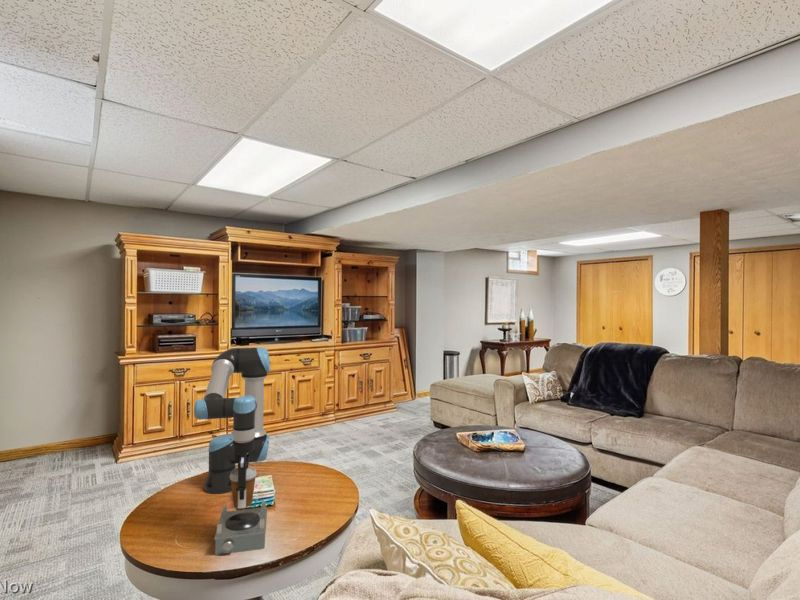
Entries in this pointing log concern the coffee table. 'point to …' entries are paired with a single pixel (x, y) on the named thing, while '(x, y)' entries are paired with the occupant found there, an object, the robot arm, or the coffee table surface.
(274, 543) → the coffee table surface
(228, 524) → the hot plate
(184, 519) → the coffee table surface
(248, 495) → the disposable coffee cup
